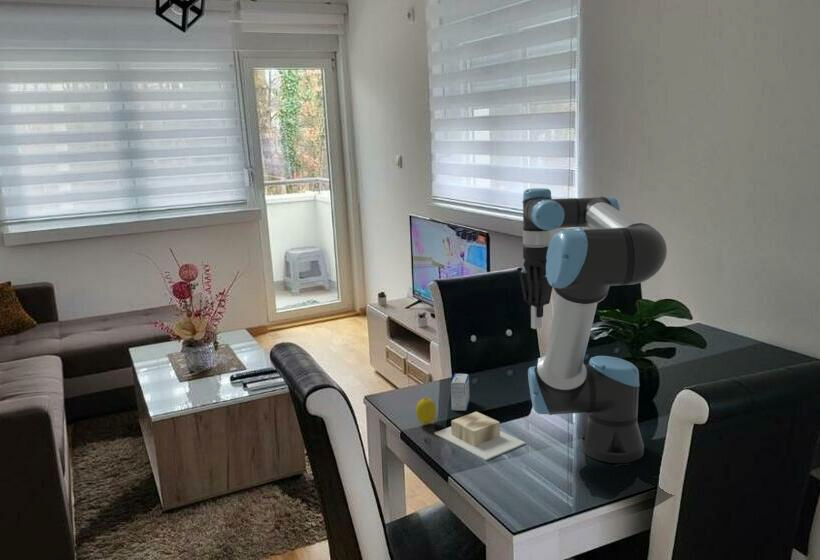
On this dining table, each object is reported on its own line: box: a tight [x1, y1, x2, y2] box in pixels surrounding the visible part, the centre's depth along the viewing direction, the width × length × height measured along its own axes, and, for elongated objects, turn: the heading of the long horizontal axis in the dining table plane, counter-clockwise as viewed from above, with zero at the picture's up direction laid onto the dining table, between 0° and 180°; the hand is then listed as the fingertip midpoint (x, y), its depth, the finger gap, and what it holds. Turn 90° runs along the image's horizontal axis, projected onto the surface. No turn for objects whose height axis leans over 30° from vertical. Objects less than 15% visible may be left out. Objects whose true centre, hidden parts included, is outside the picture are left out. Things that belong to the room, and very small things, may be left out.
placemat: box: [433, 426, 526, 462], centre depth 174 cm, size 20×14×1 cm
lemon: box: [415, 397, 437, 426], centre depth 183 cm, size 6×6×8 cm
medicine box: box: [450, 373, 470, 412], centre depth 195 cm, size 8×4×9 cm, turn 168°
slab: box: [450, 411, 501, 446], centre depth 175 cm, size 9×4×9 cm
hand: (536, 327), depth 187 cm, fingers closed
